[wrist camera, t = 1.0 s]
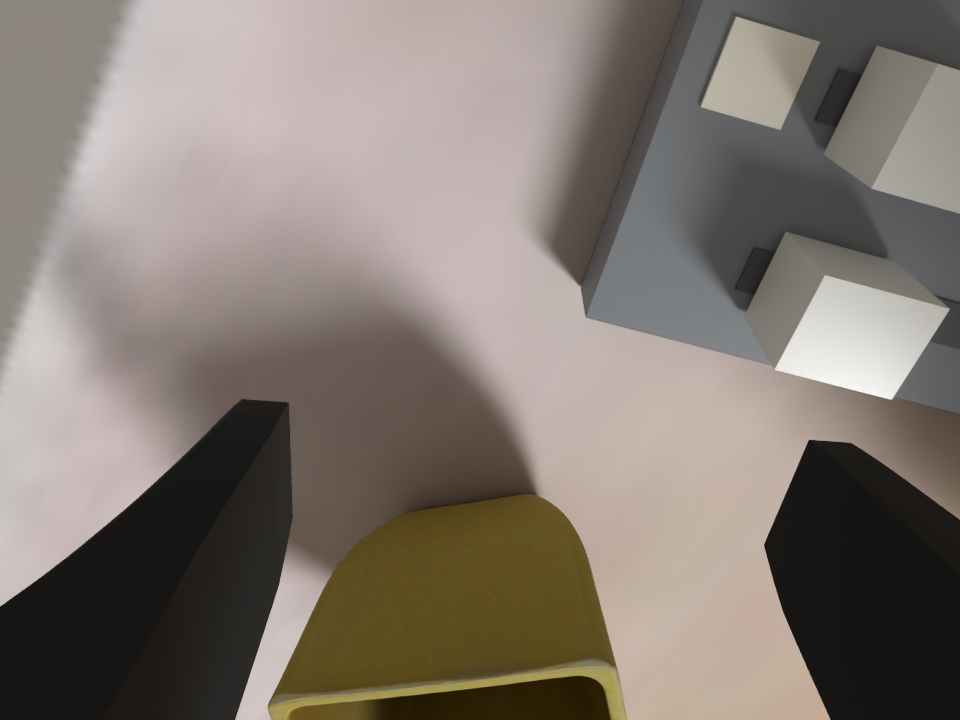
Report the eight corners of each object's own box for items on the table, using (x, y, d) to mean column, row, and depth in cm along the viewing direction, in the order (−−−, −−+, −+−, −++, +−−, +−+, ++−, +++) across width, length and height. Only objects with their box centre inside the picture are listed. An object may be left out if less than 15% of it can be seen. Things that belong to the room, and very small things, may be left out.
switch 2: (894, 261, 19) (950, 309, 17) (846, 344, 20) (891, 400, 18) (785, 231, 19) (825, 275, 16) (743, 317, 20) (774, 369, 18)
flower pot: (587, 436, 25) (616, 665, 17) (620, 617, 29) (657, 868, 21) (337, 474, 26) (259, 703, 18) (403, 642, 30) (362, 888, 22)
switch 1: (998, 82, 17) (1079, 106, 14) (938, 187, 18) (1003, 225, 16) (877, 45, 17) (937, 64, 14) (823, 154, 18) (871, 188, 15)
